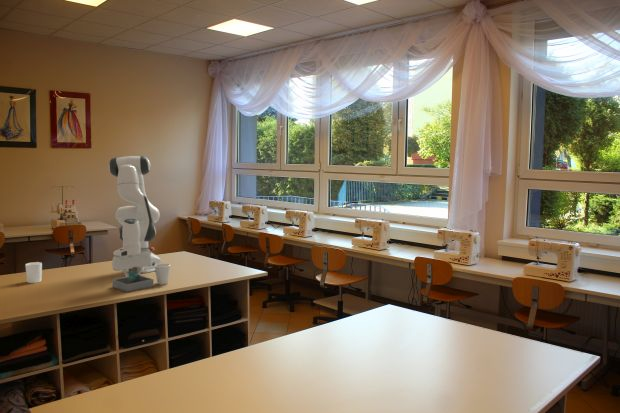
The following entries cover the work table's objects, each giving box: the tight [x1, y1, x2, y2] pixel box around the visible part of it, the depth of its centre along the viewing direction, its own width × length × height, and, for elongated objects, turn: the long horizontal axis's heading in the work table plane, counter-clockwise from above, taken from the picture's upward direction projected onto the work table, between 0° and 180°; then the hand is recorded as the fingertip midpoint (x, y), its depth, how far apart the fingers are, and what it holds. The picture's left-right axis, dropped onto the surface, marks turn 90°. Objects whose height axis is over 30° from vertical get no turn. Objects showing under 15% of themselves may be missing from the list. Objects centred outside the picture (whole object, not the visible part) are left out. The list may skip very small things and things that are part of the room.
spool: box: [127, 267, 138, 284], centre depth 261 cm, size 4×4×9 cm
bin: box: [111, 274, 154, 293], centre depth 261 cm, size 15×15×4 cm
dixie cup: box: [154, 263, 171, 285], centre depth 269 cm, size 8×8×10 cm
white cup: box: [24, 261, 43, 284], centre depth 272 cm, size 8×8×10 cm
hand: (132, 276), depth 261 cm, fingers closed on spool, 5 cm apart
